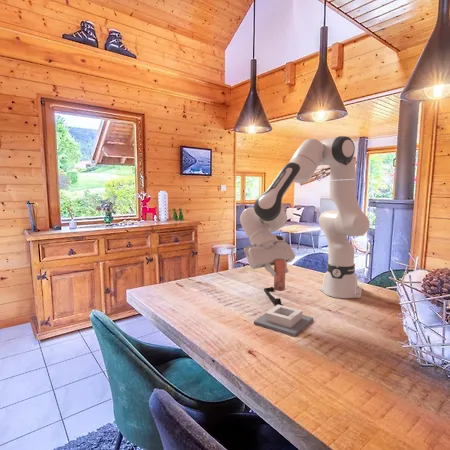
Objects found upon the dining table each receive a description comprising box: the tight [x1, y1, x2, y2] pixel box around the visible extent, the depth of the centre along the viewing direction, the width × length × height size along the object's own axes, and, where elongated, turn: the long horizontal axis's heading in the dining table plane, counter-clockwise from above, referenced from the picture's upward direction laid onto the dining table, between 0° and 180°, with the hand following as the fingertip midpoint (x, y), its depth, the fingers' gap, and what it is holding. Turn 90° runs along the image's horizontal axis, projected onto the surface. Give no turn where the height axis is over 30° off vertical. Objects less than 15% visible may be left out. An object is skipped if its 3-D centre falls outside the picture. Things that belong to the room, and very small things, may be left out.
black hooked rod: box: [263, 286, 284, 307], centre depth 132 cm, size 5×5×30 cm
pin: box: [273, 259, 286, 292], centre depth 111 cm, size 4×4×11 cm
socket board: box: [253, 305, 314, 337], centre depth 111 cm, size 16×16×4 cm
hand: (280, 273), depth 110 cm, fingers closed on pin, 4 cm apart
